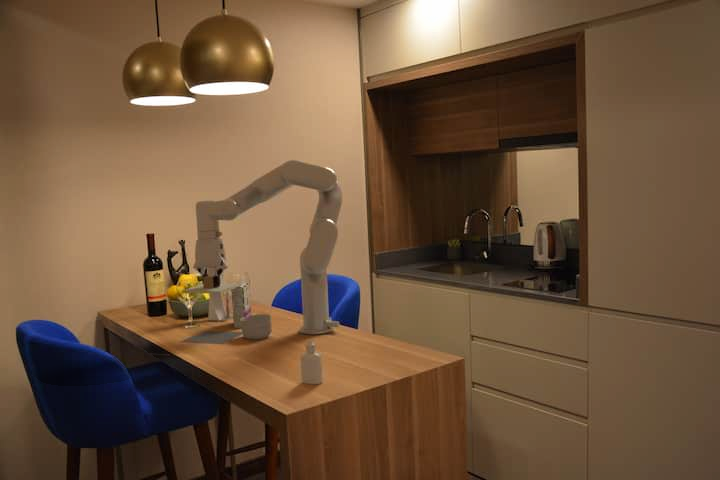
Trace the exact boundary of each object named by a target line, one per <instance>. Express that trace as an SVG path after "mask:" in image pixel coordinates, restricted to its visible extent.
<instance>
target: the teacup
mask: <svg viewBox="0 0 720 480" xmlns="http://www.w3.org/2000/svg"><path fill="white" fill-rule="evenodd" d="M240 321H241V327H242V328H241V332H242V333H243V334H242V335H243V337H244V338H246V339H247V340H250V341H256V340H257V341H258V340H265V339H267V338H268V337H269V336H270V335H271V333H272V330H273V329H272V315H270V314H267V313H260V314H251V315H250V316H246V317H243V318H241V319H240Z"/></svg>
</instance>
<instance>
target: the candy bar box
mask: <svg viewBox="0 0 720 480" xmlns="http://www.w3.org/2000/svg"><path fill="white" fill-rule="evenodd" d="M236 284H241V286H240V287H237V288H234V289H231V290H230V291H231V301H232V303H231V304H232V318H233V319H232V320H233V329H242V327H241V321H240V319H241V318H243V317H246V316H250V315H252V311H251V309H252V308H251V297H250V296H251V295H250V282H249V281H248V282H247V281H246V282H244V281H243V282H241V281H240V282H236Z"/></svg>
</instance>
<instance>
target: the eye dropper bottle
mask: <svg viewBox="0 0 720 480" xmlns="http://www.w3.org/2000/svg"><path fill="white" fill-rule="evenodd" d="M300 373H301V374H300V375H301V382H302V383H303V384H307V385H320V384H321V383H322V382H323V365H322V356H321V354H320V353H318V352H316V345H315V343H313V341H312V339H308V343H307V344H306V345H305V352H304V353H302V354H301V356H300Z"/></svg>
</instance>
